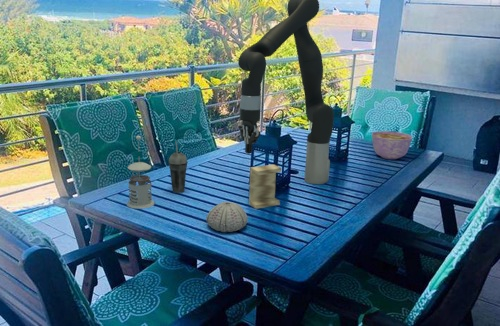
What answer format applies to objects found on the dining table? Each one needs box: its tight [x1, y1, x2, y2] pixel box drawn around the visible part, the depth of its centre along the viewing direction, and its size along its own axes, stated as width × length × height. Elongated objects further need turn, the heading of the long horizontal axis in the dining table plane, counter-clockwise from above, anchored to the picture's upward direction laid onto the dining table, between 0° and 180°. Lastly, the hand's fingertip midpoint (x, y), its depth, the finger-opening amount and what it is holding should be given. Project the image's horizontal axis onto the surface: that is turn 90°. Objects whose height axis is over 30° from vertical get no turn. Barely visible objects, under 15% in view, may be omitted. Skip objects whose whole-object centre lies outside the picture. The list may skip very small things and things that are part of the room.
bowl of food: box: [371, 130, 413, 160], centre depth 242 cm, size 20×20×12 cm
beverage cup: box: [168, 141, 189, 194], centre depth 182 cm, size 7×7×20 cm
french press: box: [126, 135, 155, 210], centre depth 168 cm, size 10×12×25 cm
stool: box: [248, 164, 282, 210], centre depth 171 cm, size 10×5×14 cm, turn 119°
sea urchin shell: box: [205, 201, 249, 233], centre depth 153 cm, size 13×14×8 cm
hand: (248, 152), depth 179 cm, fingers closed
